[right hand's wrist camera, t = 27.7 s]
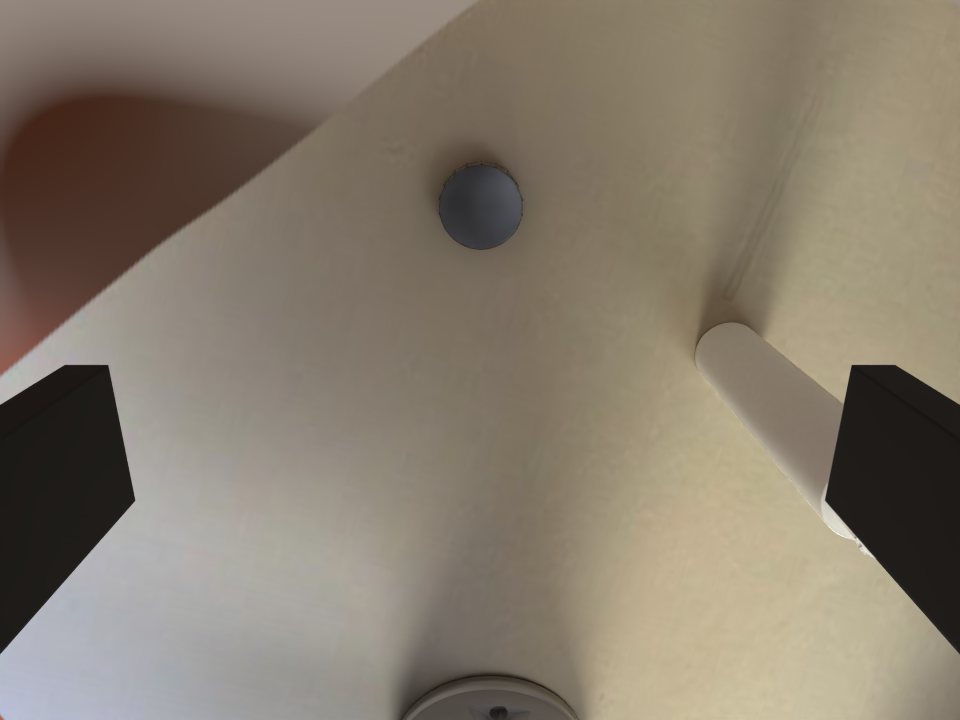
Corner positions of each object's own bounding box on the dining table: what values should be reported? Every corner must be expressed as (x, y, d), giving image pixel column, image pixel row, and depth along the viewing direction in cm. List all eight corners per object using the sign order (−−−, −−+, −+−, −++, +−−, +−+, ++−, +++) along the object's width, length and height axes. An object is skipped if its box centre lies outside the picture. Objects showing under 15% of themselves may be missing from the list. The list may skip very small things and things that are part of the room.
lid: (494, 257, 41) (495, 266, 39) (425, 216, 40) (422, 222, 38) (536, 188, 40) (540, 193, 38) (466, 144, 39) (465, 146, 37)
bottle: (735, 308, 42) (925, 457, 24) (772, 355, 44) (981, 530, 25) (681, 351, 43) (825, 524, 25) (719, 395, 44) (883, 592, 26)
